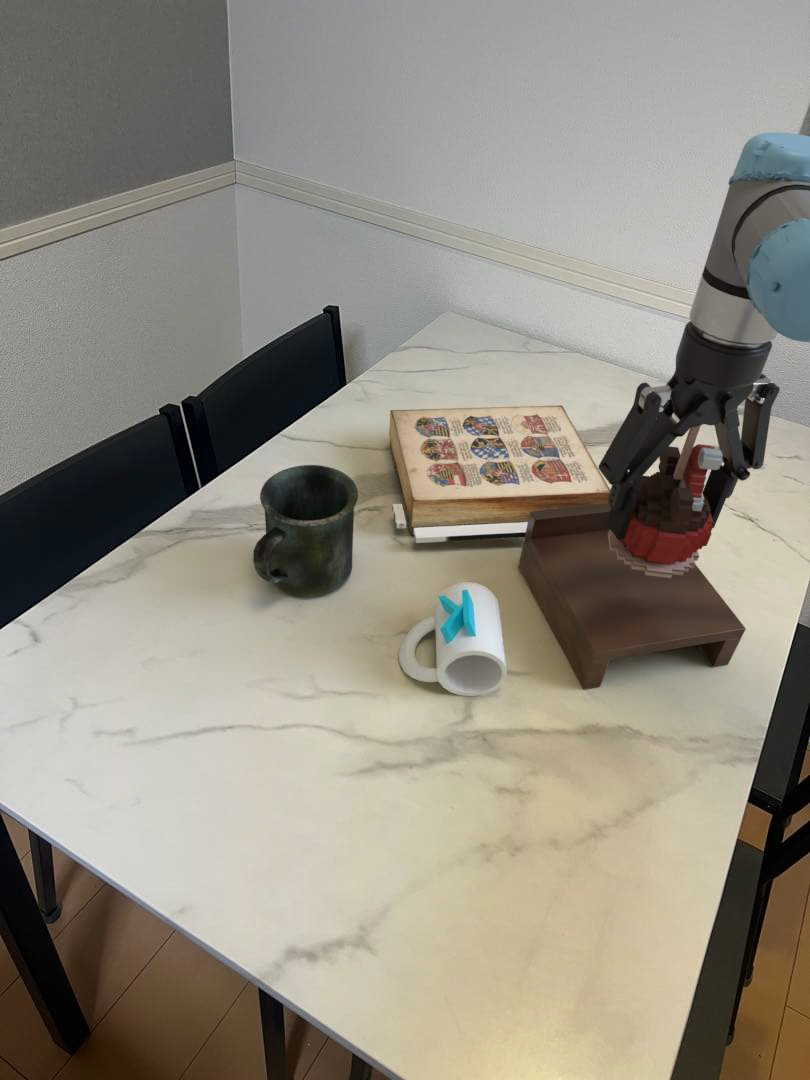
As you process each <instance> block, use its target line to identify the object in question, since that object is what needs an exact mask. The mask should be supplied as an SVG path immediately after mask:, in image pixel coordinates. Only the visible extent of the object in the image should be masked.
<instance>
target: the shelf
mask: <svg viewBox="0 0 810 1080" xmlns="http://www.w3.org/2000/svg"><path fill="white" fill-rule="evenodd" d="M610 510H611V506H610V504H609V503H604V504H595V505H586V506H577V507H568V508H559V509H550V510H542V511H533V512H530V515H529V520H528V521H527V522H528V524H527V529H526V534H525V537H524V539H523V542H522V547H521V552H520V557H519V562H518V570H519V572H520V573H521V575H522V577H523V579H524V582H525V583H526V584H527V587H528V589H529V590H530V592H531V594H532V596H533V598H534V600H535V601H536V604H537V606H538V607H539V609H540V611H541V613H542V614H543V616H544V619H545V620H546V622H547V624H548V625H549V627H550V629H551V631H552V633H553V635H554V637H555V638H556V640H557V642H558V644H559V646H560V648H561V650H562V652H563V654H564V655H565V658H566V659H567V661H568V663H569V665H570V667H571V668H572V670H573V672H574V674H575V676H576V678H577V680H578V681H579V684H580V685H581V687H582V690H591V689H595V688H600V687H602V682H603V680H604V677H605V674H606V672H607V668H608V666H609V663H610V661H611V660H613V659H619V658H625V657H632V656H638V655H644V654H650V653H657V652H662V651H669V650H674V649H680V648H686V647H687V648H688V647H693V646H697V647H698V648H699V650H700V651H701V653H702V654H703V656H704V657H705V658H706V660H707V661H708V663H709V664H710V666H711V667H712V668H717V667H718V668H719V667H723V666H729V664H730V661H731V660H732V658H733V655H734V653H735V651H736V649H737V647H738V646H739V644H740V642H741V640H742V638H743V636H744V633H745V631H746V629H747V628H746V626H745V625H744V624H743V623H742V622H741V620H740V619H739V618H738V617H737V615H736V614H735V613H734V611H733V610H732V609H731V608H730V606H729V605H728V604H727V602H726V601H725V600H724V598H723V597H722V596H721V595H720V594H719V592H718V591H717V590H716V588H715V587H714V586H713V584H712V583H711V582H710V581H709V579H708V578H707V577H706V576H705V574H704V573H703V572H702V570H701V569H700V568H699V567H698V565H697V564H696V563H695V566H694V568H689V571H688V572H685V571H684V574H683V575H676V574H672V577H671V578H666V577H658V576H649V575H645V571H643V570H634V569H632V568H631V565H627V564H624V560H619V559H617V553H616V551H611V550H610V547H609V540H608V532H609V530H611V529H610V528H609V527H608V525H607V524H606V523H607V520H608V517H609V513H610Z"/></svg>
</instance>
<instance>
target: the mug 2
mask: <svg viewBox="0 0 810 1080" xmlns="http://www.w3.org/2000/svg"><path fill="white" fill-rule="evenodd" d="M502 628H503V627H502V620H501V612H500V605H499V601H498V599H497V597H496V596H495V594H494V593H493V592H492V591H491V590H490V589H489V588H487V587H486V586H485V585H482V584H480V583H477V582H473V581H463V582H458V583H454V584H452V585H450V586H449V587H447V588H446V589H445V590H443V591H442V593H441V594H440V595H439V596H438V599H437V601H436V604H435V608H434V615H431V616H428V617H426V618H424V619H423V620H421V621H419V622H417V623H416V624H415V625H414V626H413V627H412V628H410V630H408V632H407V634H405V636H404V637H403V639H402V642H401V644H400V645H399V651H398V660H399V665H400V667H401V668H402V670H403V672H404V673H405V674H406V675H408V676H409V677H410V678H411V679H414V680H417V681H419V682H425V683H434V682H435V683H436V682H438V683H439V684H440V685H441V687H442V688H443V689H445V690H446V691H448V692H449V693H452V694H455V695H458V696H464V697H476V696H483V695H486V694H490V693H492V692H494V691H495V690H497V689H498V688H500V687H501V685H503V683H504V682H505V681H506V677H507V675H508V673H507V664H506V654H505V647H504V639H503V629H502ZM433 631H435V658H436V661H435V662H436V667H426V666H424V665H422V664H421V663H420V662H419V661H418V660H417V657H416V648H417V646H418V644H419V642H420V641H421V640H422V638H423V637H425V636H426V635H427V634H429V633H430V632H433Z"/></svg>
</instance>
